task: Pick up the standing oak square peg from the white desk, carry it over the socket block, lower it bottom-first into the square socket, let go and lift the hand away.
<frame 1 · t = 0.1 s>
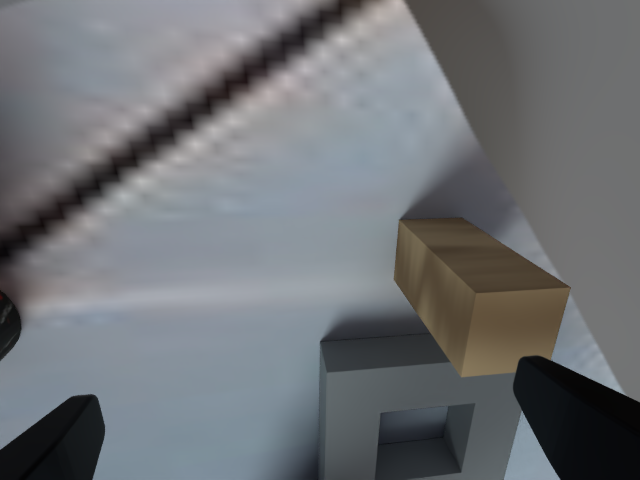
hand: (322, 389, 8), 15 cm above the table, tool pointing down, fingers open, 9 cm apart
socket block: (408, 410, 29), on the table
peg: (427, 249, 24), on the table
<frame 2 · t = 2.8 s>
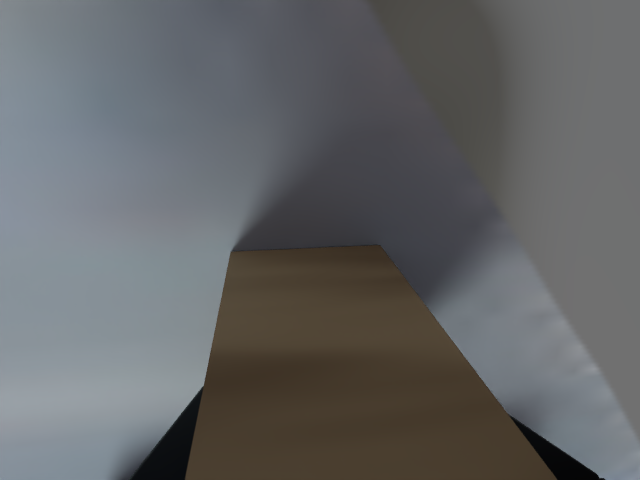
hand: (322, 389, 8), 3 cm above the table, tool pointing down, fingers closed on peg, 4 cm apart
peg: (307, 312, 11), on the table, touching gripper
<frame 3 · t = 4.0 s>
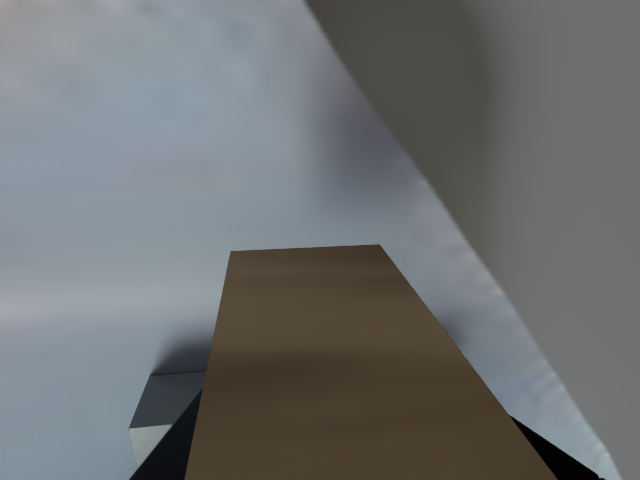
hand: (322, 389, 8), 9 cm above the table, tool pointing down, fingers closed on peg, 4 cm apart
socket block: (296, 463, 21), on the table
peg: (307, 312, 11), point 6 cm above the table, touching gripper
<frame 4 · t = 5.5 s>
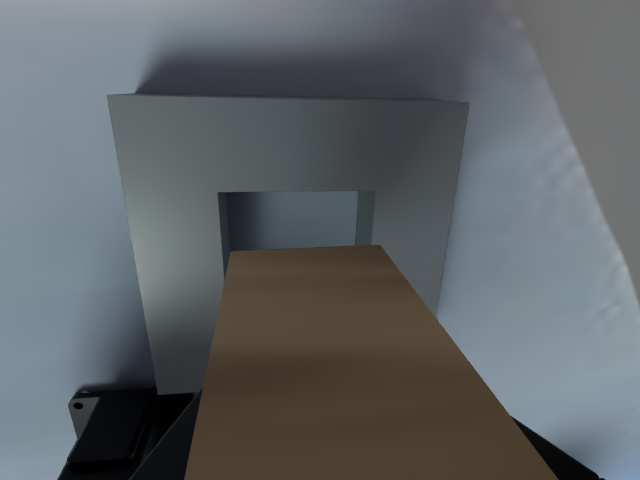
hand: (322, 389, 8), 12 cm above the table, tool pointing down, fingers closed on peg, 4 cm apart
socket block: (293, 237, 19), on the table
peg: (307, 312, 11), point 9 cm above the table, touching gripper
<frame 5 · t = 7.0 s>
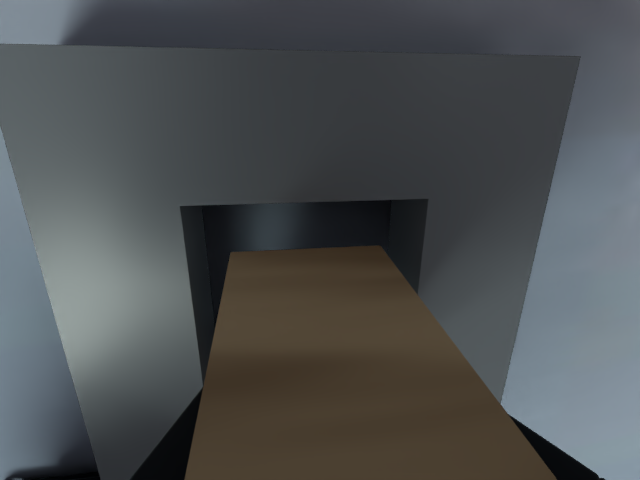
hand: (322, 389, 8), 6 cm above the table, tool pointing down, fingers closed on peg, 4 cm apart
socket block: (300, 265, 14), on the table
peg: (307, 313, 11), point 3 cm above the table, touching gripper
when the fingers open (4 cm above the table, at t = 8.2 s): peg drops 1 cm, resting in socket block.
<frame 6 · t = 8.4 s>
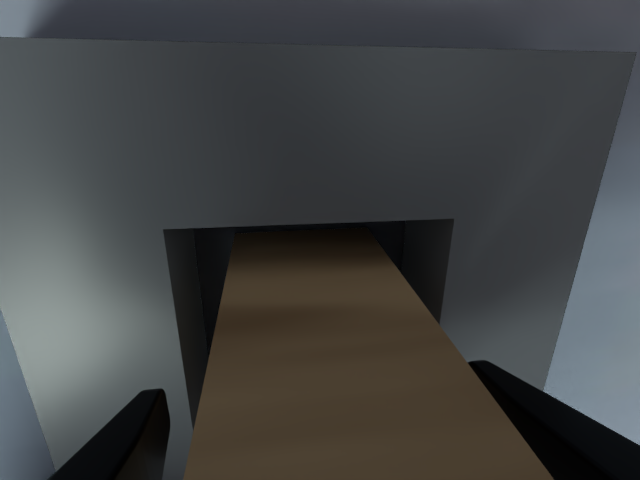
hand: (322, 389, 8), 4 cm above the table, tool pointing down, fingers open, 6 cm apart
socket block: (303, 288, 12), on the table
peg: (303, 288, 12), resting in socket block
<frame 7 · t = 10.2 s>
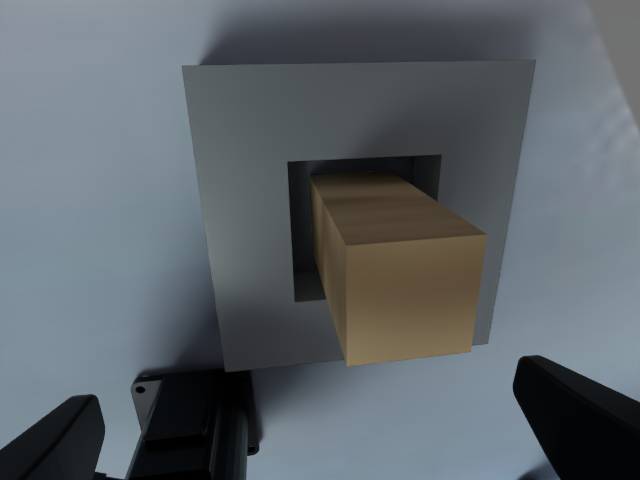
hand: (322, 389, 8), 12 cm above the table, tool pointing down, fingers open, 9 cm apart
socket block: (350, 211, 19), on the table
peg: (350, 211, 19), resting in socket block
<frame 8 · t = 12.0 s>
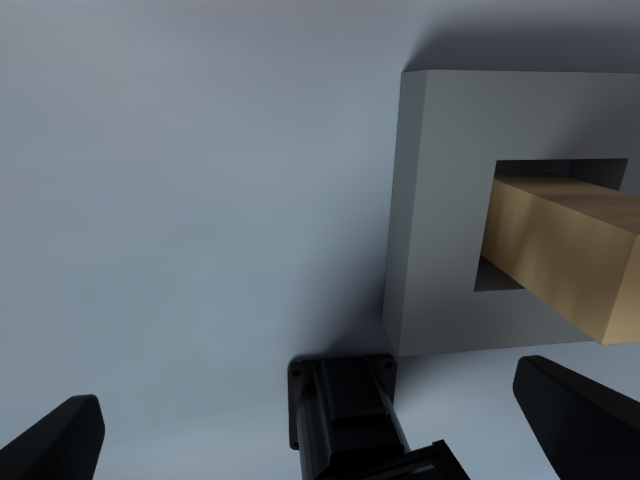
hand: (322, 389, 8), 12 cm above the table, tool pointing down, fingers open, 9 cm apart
socket block: (510, 209, 21), on the table
peg: (509, 209, 21), resting in socket block
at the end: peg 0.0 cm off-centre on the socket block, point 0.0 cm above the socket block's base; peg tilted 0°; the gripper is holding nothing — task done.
